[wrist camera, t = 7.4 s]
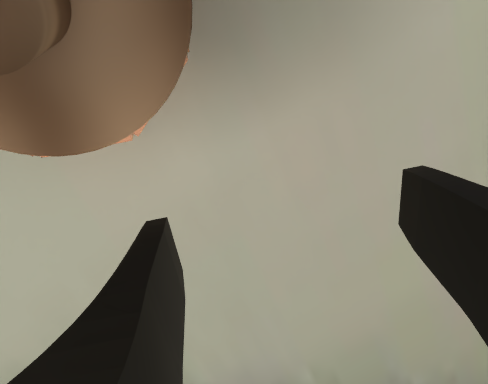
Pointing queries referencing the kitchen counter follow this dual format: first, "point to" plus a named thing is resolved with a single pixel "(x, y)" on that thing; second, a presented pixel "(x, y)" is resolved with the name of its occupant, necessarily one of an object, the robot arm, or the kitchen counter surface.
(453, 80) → the kitchen counter surface
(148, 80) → the lid
